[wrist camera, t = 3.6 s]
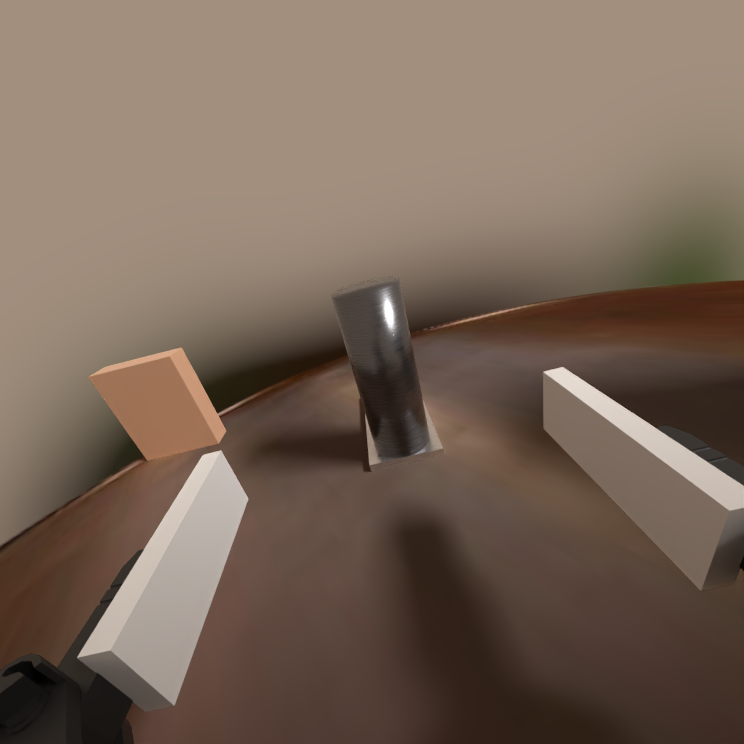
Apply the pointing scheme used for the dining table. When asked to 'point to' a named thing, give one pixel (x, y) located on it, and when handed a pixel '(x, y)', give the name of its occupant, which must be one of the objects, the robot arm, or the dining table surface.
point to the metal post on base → (385, 373)
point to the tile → (160, 404)
